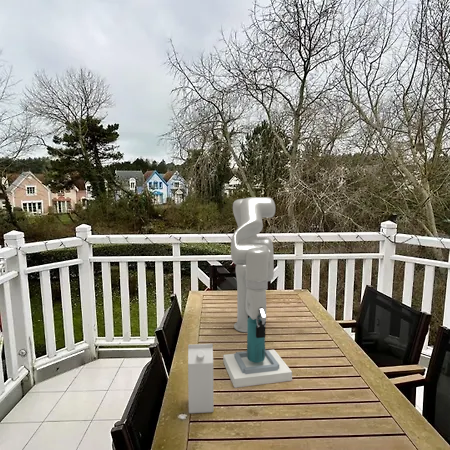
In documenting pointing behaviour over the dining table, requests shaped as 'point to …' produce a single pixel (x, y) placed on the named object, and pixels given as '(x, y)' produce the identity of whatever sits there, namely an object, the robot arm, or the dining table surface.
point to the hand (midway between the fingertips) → (256, 331)
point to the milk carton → (200, 378)
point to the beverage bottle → (254, 343)
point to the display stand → (256, 369)
